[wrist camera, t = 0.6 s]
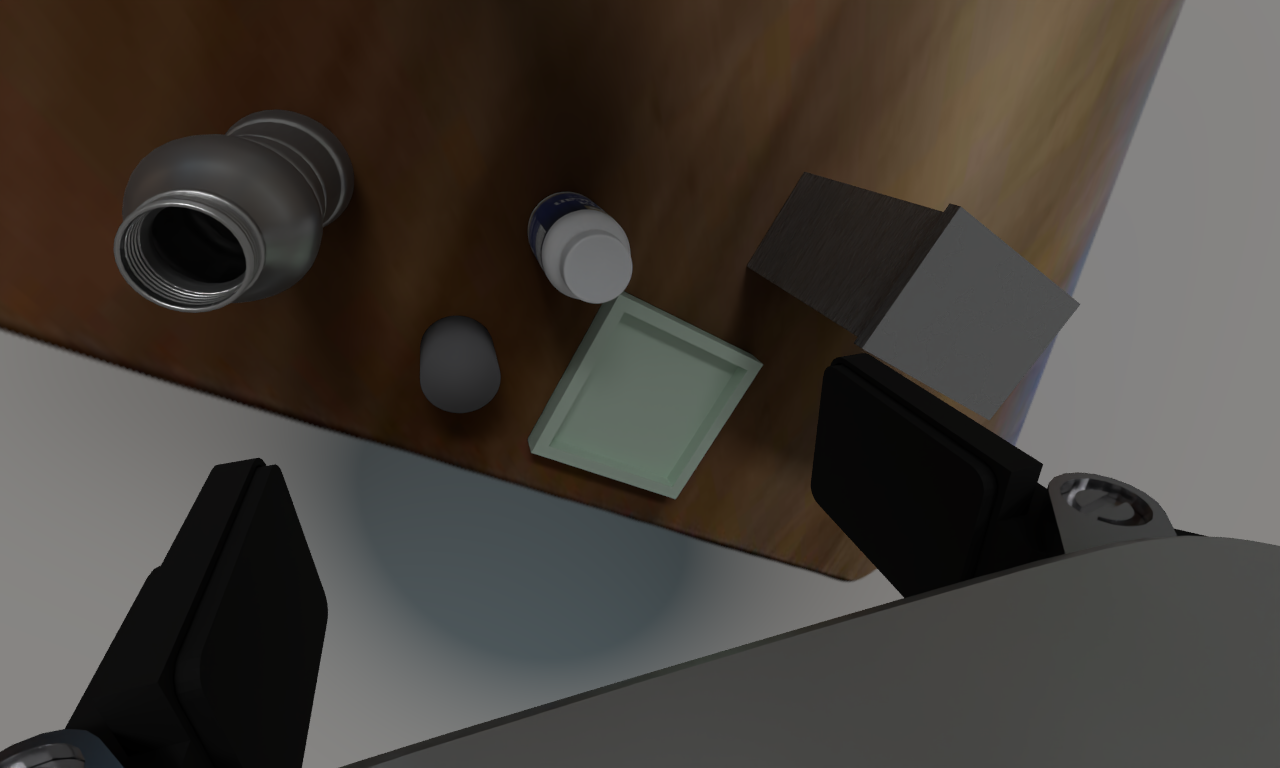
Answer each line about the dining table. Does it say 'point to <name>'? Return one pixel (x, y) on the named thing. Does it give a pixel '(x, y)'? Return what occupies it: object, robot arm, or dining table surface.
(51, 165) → the dining table surface
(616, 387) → the tray
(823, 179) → the metal box
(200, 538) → the robot arm
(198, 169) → the plastic bottle
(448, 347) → the stopper
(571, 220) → the pill bottle
